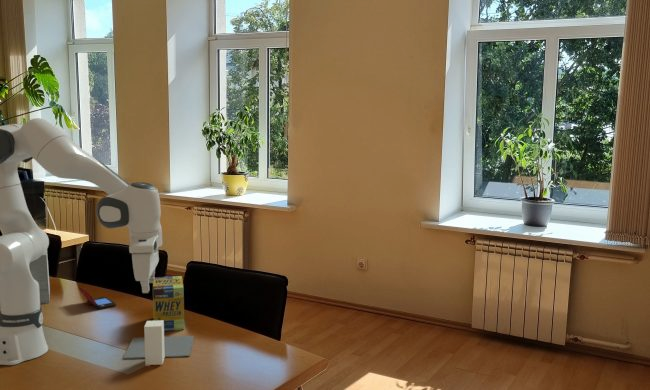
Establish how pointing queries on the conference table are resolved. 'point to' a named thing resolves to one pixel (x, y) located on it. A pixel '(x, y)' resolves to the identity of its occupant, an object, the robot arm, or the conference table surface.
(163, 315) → the protein box
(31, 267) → the hard drive box
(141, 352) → the mat
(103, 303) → the handheld game console
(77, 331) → the conference table surface
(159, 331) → the tall block
